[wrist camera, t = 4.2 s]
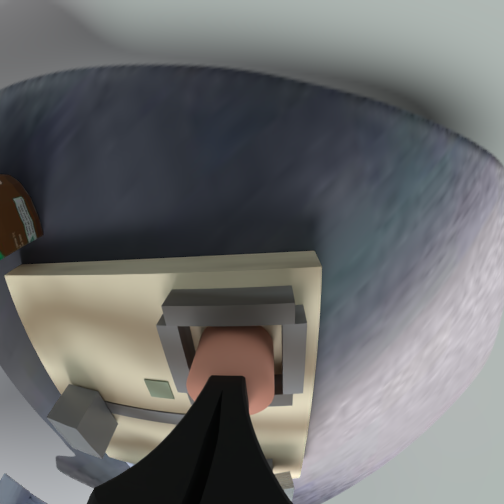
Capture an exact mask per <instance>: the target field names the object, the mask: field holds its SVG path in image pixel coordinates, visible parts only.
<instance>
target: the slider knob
mask: <svg viewBox="0 0 504 504" xmlns="http://www.w3.org/2000/svg"><path fill="white" fill-rule="evenodd" d="M47 418H48V420H49V421H50V422H51V423H52V425H53V426H54V427H55V428H56V429H57V431H58V432H59V433H60V434H61V435H62V436H63V438H64V439H65V440H66V441H67V442H68V443H69V444H70V445H71V446H72V447H73V448H74V449H77V450H79V451H82V452H85V453H87V454H90V455H93V456H96V457H98V458H101V459H103V456H104V454H105V452H106V450H107V447H108V445H109V443H110V441H111V438H112V436H113V434H114V432H115V430H116V427H117V425H118V423H117V421H116V420H115V418H114V416H113V415H112V413H111V412H110V410H109V409H108V407H107V405H106V404H105V402H104V401H103V399H102V397H101V396H100V394H99V392H98V391H94V390H90V389H86V388H82V387H78V386H75V385H71V384H69V385H68V386H67V388H66V389H65V390H64V392H63V393H62V395H61V396H60V398H59V399H58V401H57V402H56V404H55V405H54V407H53V408H52V410H51V411H50V413H49V414H48V416H47Z"/></svg>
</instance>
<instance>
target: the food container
mask: <svg viewBox="0 0 504 504" xmlns="http://www.w3.org/2000/svg"><path fill="white" fill-rule="evenodd" d="M43 235H44V234H43V231H42V227H41V223H40V219H39V217H38V214H37V212H36V210H35V207H34V205H33V202H32V200H31V197H30V196H29V195H28V193H27V192H26V190H25V189H24V187H23V186H22V184H21V183H20V182H19V181H17V180H16V179H15V178H13V177H12V176H11V175H5V174H0V260H1V259H3V258H5V257H6V256H8V255H10V254H11V253H13V252H15V251H16V250H18V249H20V248H21V247H23V246H25V245H27V244H28V243H30V242H32V241H34V240H36V239H37V238H39V237H41V236H43Z"/></svg>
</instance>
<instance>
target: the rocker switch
mask: <svg viewBox="0 0 504 504" xmlns="http://www.w3.org/2000/svg"><path fill="white" fill-rule="evenodd" d="M274 475H275V477H276V478H277V480H278V482H279V484H280V485H281V487H282V488H283V490H284V492H285V493H286V495H287V496H288V498H289V499H290V500H291V501H292V497H293V492H294V485H293V481H292V477H291V474H290V471H288V472H282V473H277V474H274Z"/></svg>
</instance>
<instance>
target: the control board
mask: <svg viewBox="0 0 504 504" xmlns="http://www.w3.org/2000/svg"><path fill="white" fill-rule="evenodd" d="M4 276H5V279H6V282H7V285H8V288H9V291H10V293H11V296H12V299H13V301H14V304H15V307H16V309H17V311H18V314H19V316H20V319H21V321H22V323H23V325H24V328H25V330H26V332H27V334H28V336H29V338H30V340H31V342H32V344H33V346H34V348H35V350H36V352H37V354H38V356H39V358H40V360H41V362H42V363H43V365H44V367H45V369H46V371H47V372H48V374H49V376H50V377H51V379H52V381H53V382H54V384H55V386H56V387H57V389H58V390H59V392H60V393H61V395H62V393H63V392H64V390H65V389H66V388H67V386H68V385H69V384H71V385H75V386H78V387H82V388H86V389H90V390H94V391H98V392H99V394H100V396H101V397H102V399H103V401H104V402H105V404H106V405H107V407H108V409H109V410H110V412H111V413H112V415H113V416H114V418H115V420H116V421H117V423H118V425H117V427H116V430H115V432H114V434H113V436H112V438H111V441H110V443H109V445H108V447H107V450H106V454H107V455H108V456H109V457H111V458H115V459H118V460H121V461H125V462H129V463H132V464H136V463H138V462H139V461H140V460H141V459H143V458H144V457H145V456H146V455H148V454H149V453H150V452H151V451H152V450H153V449H154V448H156V447H157V446H158V445H159V444H160V443H161V442H162V441H163V440H164V439H165V438H166V437H167V436H168V435H169V433H170V432H171V431H172V430H173V429H174V428H175V427H176V425H177V424H178V423H179V422H180V420H181V419H182V418H183V417H184V415H185V414H186V413H187V411H188V410H189V409H190V407H191V406H192V404H193V403H194V400H193V399H192V398H191V397H190V395H189V393H188V391H187V387H186V382H187V378H188V375H189V372H190V369H191V365H192V362H193V359H194V356H195V353H196V350H197V347H198V344H199V341H200V338H201V335H202V333H203V331H204V330H205V329H206V327H207V326H262V327H263V328H264V329H265V330H266V331H267V332H268V333H269V335H270V336H271V338H272V341H273V346H274V398H273V400H272V402H271V404H270V405H269V406H268V407H267V408H265V409H264V410H263V411H261V412H259V413H256V414H253V415H250V418H251V422H252V425H253V428H254V431H255V434H256V436H257V439H258V442H259V444H260V446H261V449H262V451H263V453H264V456H265V458H266V460H267V462H268V464H269V466H270V468H271V470H272V471H273V473H274V474H277V473H282V472H288V471H290V474H291V477H292V478H300V474H301V468H302V463H303V457H304V451H305V445H306V439H307V433H308V426H309V419H310V412H311V404H312V396H313V387H314V378H315V369H316V358H317V347H318V334H319V320H320V303H321V281H322V266H321V264H320V261H319V259H318V257H317V255H316V253H315V251H299V252H278V253H258V254H238V255H217V256H196V257H175V258H154V259H132V260H111V261H89V262H67V263H45V264H22V265H20V266H18V267H17V268H15V269H13V270H12V271H10V272H9V273H7V274H6V275H4Z"/></svg>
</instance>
